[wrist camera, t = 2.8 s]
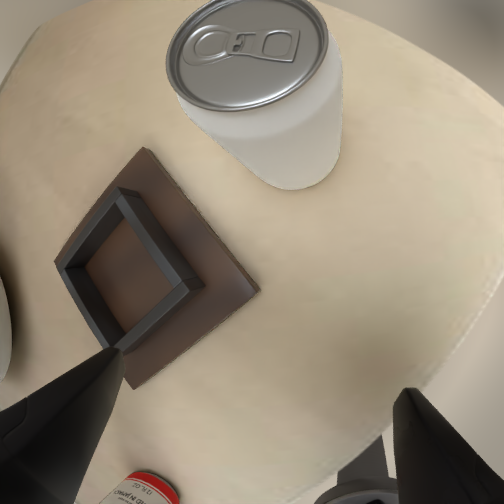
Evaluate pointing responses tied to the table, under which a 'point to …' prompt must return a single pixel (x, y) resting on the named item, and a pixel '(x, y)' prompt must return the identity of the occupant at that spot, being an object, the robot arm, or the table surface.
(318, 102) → the can
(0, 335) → the serving bowl
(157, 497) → the beer can
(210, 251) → the dark brown square tray
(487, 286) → the table surface
